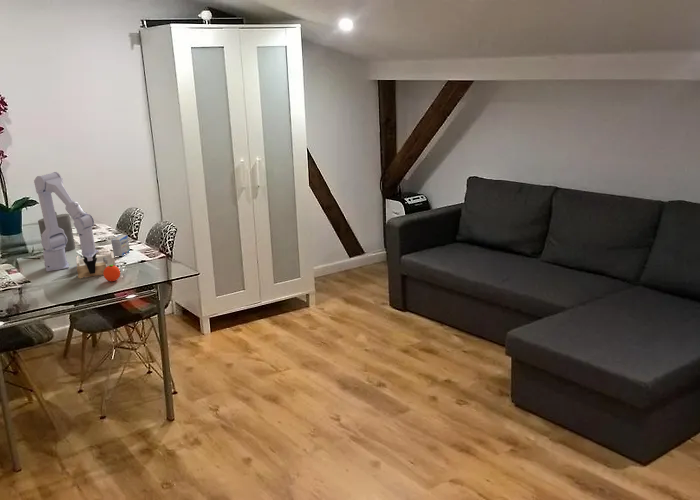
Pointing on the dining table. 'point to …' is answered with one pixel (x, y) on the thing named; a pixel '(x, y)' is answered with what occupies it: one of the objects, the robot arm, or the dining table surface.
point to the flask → (64, 224)
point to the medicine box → (120, 245)
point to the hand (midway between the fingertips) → (92, 271)
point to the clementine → (111, 273)
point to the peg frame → (99, 260)
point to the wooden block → (85, 272)
